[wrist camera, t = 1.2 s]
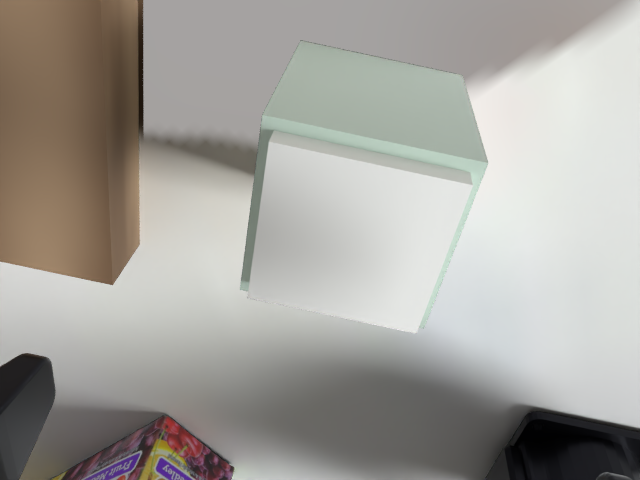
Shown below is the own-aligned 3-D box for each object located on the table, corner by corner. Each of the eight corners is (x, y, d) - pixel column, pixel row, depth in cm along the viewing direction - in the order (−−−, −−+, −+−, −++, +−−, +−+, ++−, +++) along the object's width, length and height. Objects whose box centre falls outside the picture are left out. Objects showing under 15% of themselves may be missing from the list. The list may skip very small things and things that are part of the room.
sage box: (462, 74, 17) (492, 175, 12) (417, 211, 20) (424, 344, 15) (301, 40, 17) (256, 126, 12) (278, 182, 20) (234, 304, 15)
